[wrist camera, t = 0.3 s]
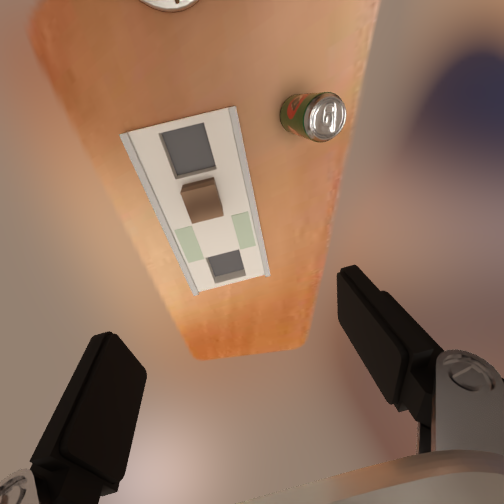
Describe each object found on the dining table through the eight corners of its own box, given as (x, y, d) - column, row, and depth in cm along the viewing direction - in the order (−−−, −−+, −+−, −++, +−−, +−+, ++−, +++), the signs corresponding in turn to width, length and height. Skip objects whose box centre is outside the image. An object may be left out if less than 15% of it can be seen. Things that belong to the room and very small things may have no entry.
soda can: (277, 132, 38) (303, 143, 28) (280, 93, 35) (310, 90, 25) (308, 132, 38) (344, 143, 28) (313, 95, 36) (354, 92, 26)
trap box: (126, 132, 34) (118, 134, 32) (233, 105, 35) (235, 106, 32) (194, 285, 51) (193, 295, 48) (267, 266, 51) (270, 275, 48)
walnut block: (182, 184, 37) (180, 193, 34) (213, 176, 37) (214, 184, 34) (193, 213, 40) (192, 224, 37) (222, 206, 40) (223, 215, 37)
